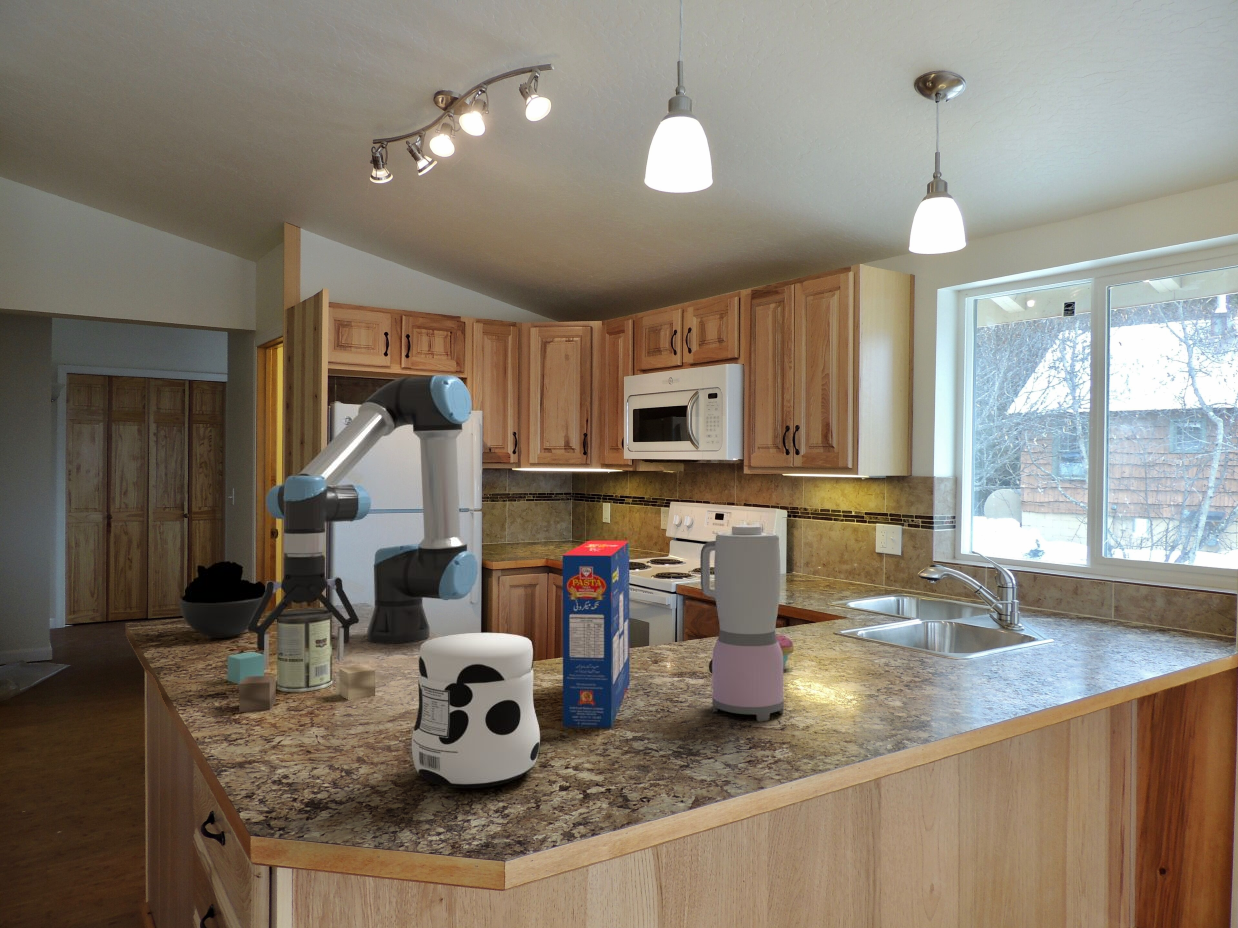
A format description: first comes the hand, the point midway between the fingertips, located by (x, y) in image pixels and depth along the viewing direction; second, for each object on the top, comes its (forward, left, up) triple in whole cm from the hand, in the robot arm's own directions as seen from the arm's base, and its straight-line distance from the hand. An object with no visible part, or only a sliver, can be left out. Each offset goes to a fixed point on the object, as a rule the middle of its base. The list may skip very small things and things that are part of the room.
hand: (303, 663), depth 161 cm
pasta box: (-46, +37, -4) cm, 59 cm away
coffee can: (0, 0, -4) cm, 4 cm away
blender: (-66, +52, -4) cm, 84 cm away
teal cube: (+10, -10, -4) cm, 15 cm away
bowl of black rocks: (+13, -59, -4) cm, 61 cm away
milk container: (-16, +61, -4) cm, 63 cm away
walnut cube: (+9, +12, -4) cm, 15 cm away
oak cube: (-8, +12, -4) cm, 15 cm away
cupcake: (-90, +30, -4) cm, 95 cm away
